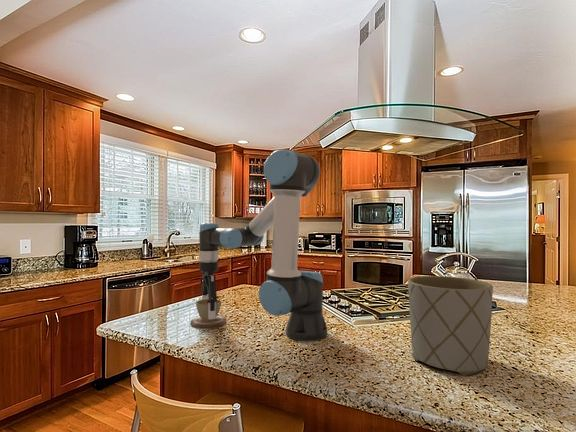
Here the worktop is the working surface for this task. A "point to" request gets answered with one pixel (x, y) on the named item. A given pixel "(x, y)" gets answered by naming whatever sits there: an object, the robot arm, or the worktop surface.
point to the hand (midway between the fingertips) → (208, 314)
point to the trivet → (208, 322)
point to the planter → (450, 322)
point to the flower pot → (206, 309)
